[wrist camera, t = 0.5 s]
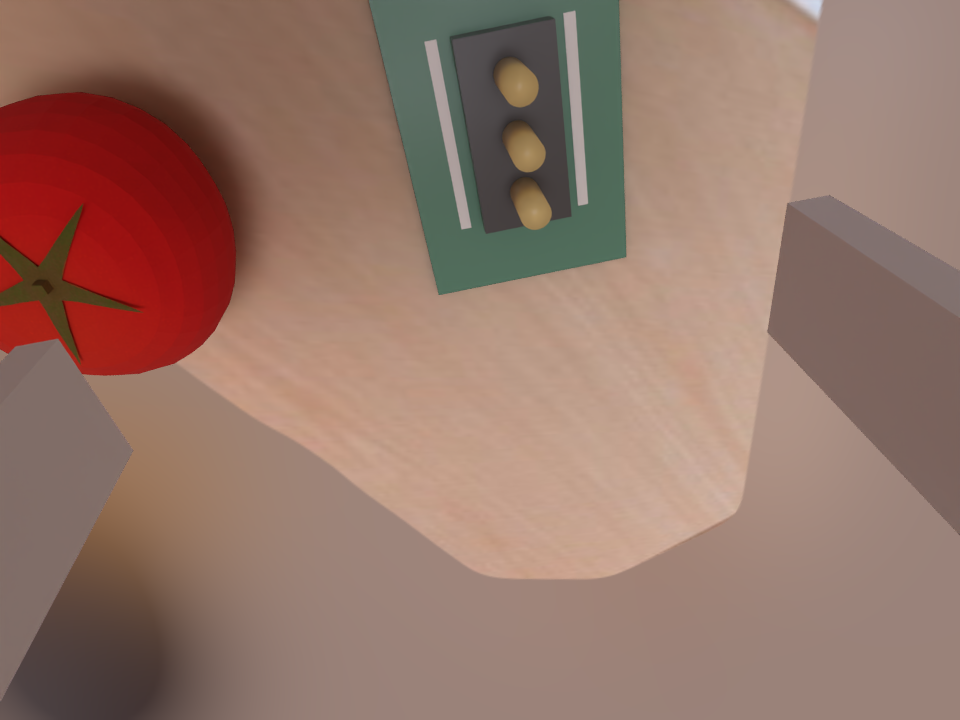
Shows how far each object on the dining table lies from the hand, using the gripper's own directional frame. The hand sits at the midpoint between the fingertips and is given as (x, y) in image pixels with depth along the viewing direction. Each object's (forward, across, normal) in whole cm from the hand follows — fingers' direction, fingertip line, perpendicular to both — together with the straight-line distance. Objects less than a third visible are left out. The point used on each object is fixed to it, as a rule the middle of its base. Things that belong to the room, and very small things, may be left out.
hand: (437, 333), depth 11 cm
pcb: (+24, +5, -3) cm, 25 cm away
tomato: (+25, -16, -3) cm, 30 cm away
